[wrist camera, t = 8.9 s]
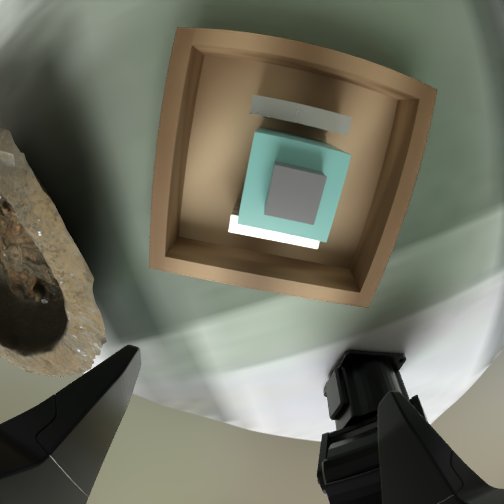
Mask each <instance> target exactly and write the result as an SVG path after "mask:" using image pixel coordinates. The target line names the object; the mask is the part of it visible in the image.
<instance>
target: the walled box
mask: <svg viewBox="0 0 504 504" xmlns="http://www.w3.org/2000/svg"><path fill="white" fill-rule="evenodd" d="M436 94H437V89H435V88H433V87H431V86H429V85H427V84H424V83H422V82H420V81H418V80H416V79H413V78H411V77H409V76H407V75H404V74H402V73H399V72H397V71H394V70H392V69H389V68H387V67H384V66H381V65H379V64H376V63H373V62H370V61H367V60H365V59H362V58H359V57H355V56H352V55H349V54H346V53H342V52H339V51H336V50H332V49H328V48H325V47H321V46H317V45H313V44H309V43H304V42H300V41H295V40H290V39H285V38H280V37H274V36H269V35H262V34H256V33H248V32H240V31H231V30H220V29H207V28H182V27H177V30H176V34H175V39H174V43H173V48H172V53H171V58H170V63H169V68H168V73H167V79H166V84H165V90H164V96H163V103H162V109H161V116H160V123H159V131H158V139H157V148H156V157H155V167H154V178H153V191H152V205H151V223H150V252H149V268H152V269H157V270H162V271H166V272H171V273H176V274H181V275H185V276H190V277H195V278H200V279H205V280H210V281H215V282H220V283H226V284H231V285H236V286H241V287H247V288H252V289H258V290H263V291H269V292H274V293H280V294H286V295H291V296H297V297H303V298H309V299H315V300H321V301H327V302H334V303H340V304H346V305H353V306H360V307H366V308H368V307H369V305H370V303H371V300H372V298H373V296H374V294H375V291H376V289H377V287H378V284H379V282H380V280H381V277H382V275H383V273H384V270H385V268H386V265H387V263H388V260H389V258H390V255H391V253H392V250H393V247H394V245H395V242H396V239H397V237H398V234H399V231H400V228H401V225H402V223H403V220H404V217H405V214H406V211H407V208H408V205H409V202H410V199H411V195H412V192H413V189H414V186H415V182H416V179H417V175H418V172H419V168H420V165H421V161H422V157H423V153H424V150H425V146H426V142H427V137H428V133H429V129H430V124H431V120H432V115H433V110H434V105H435V100H436ZM253 95H258V96H264V97H269V98H275V99H280V100H285V101H289V102H294V103H298V104H303V105H307V106H311V107H315V108H319V109H323V110H327V111H331V112H334V113H338V114H342V115H345V116H348V117H352V119H351V124H350V128H349V133H348V136H346V135H342V134H339V133H335V132H331V131H328V130H324V129H320V128H316V127H312V126H308V125H303V124H299V123H294V122H290V121H285V120H280V119H275V118H270V117H265V116H260V115H254V114H249V112H250V107H251V102H252V97H253ZM259 127H263V128H268V129H273V130H278V131H283V132H287V133H292V134H296V135H300V136H305V137H309V138H313V139H317V140H321V141H324V142H327V143H329V144H331V145H333V146H335V147H337V148H339V149H341V150H343V151H345V152H347V153H349V154H350V155H351V159H350V163H349V166H348V170H347V174H346V177H345V181H344V185H343V188H342V192H341V195H340V199H339V202H338V206H337V209H336V213H335V216H334V219H333V223H332V226H331V229H330V232H329V236H328V239H327V242H321V241H320V242H319V246H318V249H314V248H309V247H304V246H299V245H294V244H289V243H284V242H279V241H274V240H269V239H263V238H258V237H253V236H248V235H242V234H237V233H232V232H228V231H229V225H230V219H231V214H232V211H233V209H234V206H235V203H236V201H237V199H239V200H242V194H243V189H244V184H245V179H246V173H247V168H248V163H249V158H250V153H251V148H252V143H253V138H254V133H255V131H256V130H257V129H258V128H259Z"/></svg>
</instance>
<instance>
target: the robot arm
mask: <svg viewBox="0 0 504 504" xmlns="http://www.w3.org/2000/svg"><path fill="white" fill-rule="evenodd" d="M349 355H350V356H349ZM405 361H406V357H405V355H404V354H395V353H381V352H369V351H358V350H348V351H346V352H345V353H344V355H343V357H342V359H341V361H340V363H339V365H338V366H337V368H336V369H335V370H334V371H333V373H332V375H331V377H330V378H329V380H328V382H327V384H326V388H325V390H324V396H325V397H327V400H328V408H329V415H330V418H331V420H335V423H336V431H333V432H331V433H329V432H328V433H325V434H322V441H321V447H320V455H319V464H318V470H317V478H318V483H319V484H320V486H321V488H322V491H323V492H324V494H325V495H326V496H327V497H328V499H329V502H330V504H504V489H498V488H494V487H491V486H489V485H488V484H487V483H486V482H485V481H483V480H482V479H481V478H480V477H479V476H478V475H477V474H476V473H475V472H474V471H473V470H471V469H470V468H469V467H468V466H467V465H466V464H465V463H464V462H463V461H462V460H461V459H460V457H458V455H457V454H456V453H455V452H454V451H453V450H451V448H450V447H449V445H448V444H447V443H445V441H444V440H443V439H442V438H441V436H439V434H438V433H437V432H436V431H435V430H434V429H433V428H432V427H431V425H430V424H429V423H428V421H427V418H426V415H425V413H424V410H423V408H422V405H421V402H420V400H419V398H418V395H415V396H413V397H412V399H410V400H409V397H408V394H407V391H406V388H405V386H404V383H403V380H402V378H401V375H400V372H399V370H400V368H401V367H402V365H403V364H404V362H405ZM140 367H141V357H140V349H139V348H138V347H136V346H132V345H127V346H125V347H124V348H122V349H121V350H119V351H118V352H116V353H115V354H113V355H112V356H110V357H109V358H107V359H106V360H105V361H103V362H102V363H100V364H99V365H97V366H96V367H94V368H93V369H91V370H90V371H88V372H87V373H85V374H84V375H83V376H81V377H79V378H78V379H77V380H75V381H73V382H72V383H70V384H69V385H68V386H66V387H65V388H63V389H62V390H60V391H59V392H57V393H56V395H53V396H51V397H50V398H48V399H47V400H45V401H43V402H42V403H40V404H39V405H37V406H35V407H33V408H32V409H30V410H28V411H26V412H24V413H22V414H20V415H18V416H16V417H14V418H12V419H10V420H8V421H6V422H4V423H2V424H0V504H86V502H87V500H88V497H89V495H90V492H91V489H92V487H93V485H94V482H95V480H96V477H97V475H98V473H99V471H100V468H101V466H102V463H103V461H104V459H105V456H106V454H107V452H108V449H109V447H110V445H111V443H112V440H113V438H114V436H115V433H116V431H117V429H118V427H119V425H120V422H121V420H122V418H123V416H124V414H125V411H126V409H127V407H128V404H129V401H130V398H131V395H132V392H133V389H134V386H135V383H136V380H137V377H138V374H139V371H140Z"/></svg>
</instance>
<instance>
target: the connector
mask: <svg viewBox="0 0 504 504" xmlns="http://www.w3.org/2000/svg"><path fill="white" fill-rule="evenodd" d="M350 159H351V155H350V154H349V153H347V152H345V151H343V150H341V149H339V148H337V147H335V146H333V145H331V144H329V143H327V142H324V141H321V140H317V139H313V138H309V137H305V136H300V135H296V134H292V133H287V132H283V131H278V130H273V129H268V128H263V127H259V128H258V129H257V130H256V131H255V133H254V138H253V143H252V148H251V153H250V158H249V163H248V168H247V173H246V179H245V184H244V189H243V194H242V200H241V205H240V210H239V216H238V221H237V224H239V225H244V226H249V227H254V228H259V229H264V230H269V231H274V232H279V233H283V234H288V235H293V236H298V237H303V238H307V239H312V240H317V241H321V242H327V239H328V236H329V232H330V229H331V226H332V223H333V219H334V216H335V213H336V209H337V206H338V202H339V199H340V195H341V192H342V188H343V185H344V181H345V177H346V174H347V170H348V166H349V163H350Z"/></svg>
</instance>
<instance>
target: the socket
mask: <svg viewBox="0 0 504 504" xmlns="http://www.w3.org/2000/svg"><path fill="white" fill-rule="evenodd" d="M249 114H254V115H260V116H265V117H270V118H275V119H280V120H285V121H290V122H294V123H299V124H303V125H308V126H312V127H316V128H320V129H324V130H328V131H331V132H335V133H339V134H342V135H346V136H348V133H349V128H350V124H351V119H352V117H348V116H345V115H342V114H338V113H334V112H331V111H327V110H323V109H319V108H315V107H311V106H307V105H303V104H298V103H294V102H289V101H285V100H280V99H275V98H269V97H264V96H258V95H253V97H252V102H251V107H250V112H249ZM240 205H241V200H239V199H237V201H236V203H235V206H234V209H233V211H232V214H231V219H230V225H229V231H228V232H232V233H237V234H242V235H248V236H253V237H258V238H263V239H269V240H274V241H279V242H284V243H289V244H294V245H299V246H304V247H309V248H314V249H318V246H319V242H320V241H317V240H312V239H307V238H303V237H298V236H293V235H288V234H283V233H279V232H274V231H269V230H264V229H259V228H254V227H249V226H244V225H239V224H237V221H238V216H239V210H240Z"/></svg>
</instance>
